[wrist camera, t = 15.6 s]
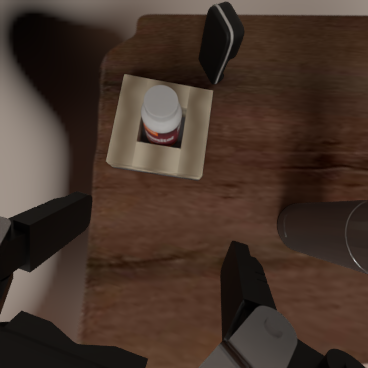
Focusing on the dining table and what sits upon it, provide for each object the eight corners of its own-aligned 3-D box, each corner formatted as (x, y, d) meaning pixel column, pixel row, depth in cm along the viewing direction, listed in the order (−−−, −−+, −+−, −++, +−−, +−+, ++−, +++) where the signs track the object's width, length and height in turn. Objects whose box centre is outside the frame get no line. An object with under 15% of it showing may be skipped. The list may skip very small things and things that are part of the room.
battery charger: (227, 80, 40) (251, 29, 28) (212, 87, 39) (230, 37, 28) (212, 52, 40) (230, -8, 29) (197, 59, 40) (208, -1, 29)
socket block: (207, 104, 39) (213, 90, 34) (197, 180, 36) (201, 176, 32) (129, 90, 38) (124, 74, 33) (113, 167, 35) (106, 161, 31)
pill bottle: (143, 146, 35) (132, 117, 24) (149, 115, 36) (141, 75, 25) (176, 152, 36) (179, 126, 25) (181, 121, 37) (187, 84, 26)
